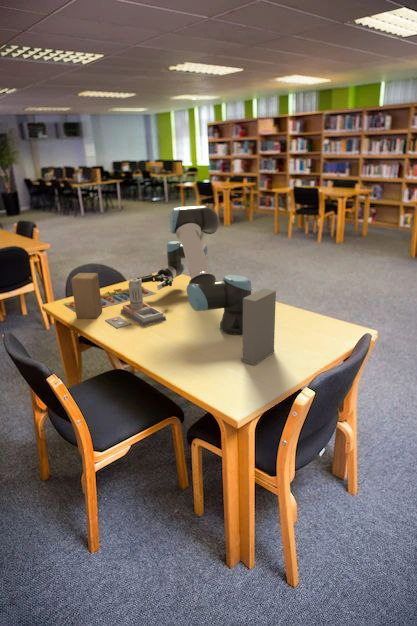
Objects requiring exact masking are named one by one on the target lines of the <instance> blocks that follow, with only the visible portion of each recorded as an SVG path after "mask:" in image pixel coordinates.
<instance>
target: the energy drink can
mask: <svg viewBox="0 0 417 626" xmlns="http://www.w3.org/2000/svg"><path fill="white" fill-rule="evenodd" d="M142 287H143V286H142V284H141V282H140V279H137V278H130V279H129V281H128V288H129V295H130V301H129V304H130V305H131V309H132V310H136V309H140V308H143V302H144V299H143V298H144V297H142Z"/></svg>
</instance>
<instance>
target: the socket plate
mask: <svg viewBox="0 0 417 626" xmlns="http://www.w3.org/2000/svg"><path fill="white" fill-rule="evenodd" d="M120 313H121V314H122V315H124V316H126V317H128V318H129V319H131V320H133V321H134V322H135V323H138V324H139V325H141V326H143V327H145V326H147V325H151V324H154V323H159V322H162V321H165V320H167V319H166V318H167V317H166V316H165V315H164V312H162V311H161V310H159V309H157V308H155V307H153V306H151V305H149V304H148V303H146V302H144V301H143V308H140V309H136V310H132V309H131V305H130V303H127V304H122V309H121V308H120Z"/></svg>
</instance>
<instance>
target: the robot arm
mask: <svg viewBox="0 0 417 626" xmlns="http://www.w3.org/2000/svg"><path fill="white" fill-rule="evenodd" d="M217 213H218V212H216V210H214V209H213V208H211V207H210V206H208V205H207V206H206V205H197V206H196V205H194V206H179V207H173V208H172V209H171V211H170V219H169V221H170V222H169V224H170V225H169V227H170V229H169V230H170V234H174V235H175V236H176V238H177V239H178V241H176V240H172V241H168V242H167V243H166V255H167V259H166V260H167V266H165V267H163V268H161V269H160V270H158V272H157V273H156V274H153V273H149V274H146V275H142V276H138V277H136V279H140V282H141V285H142V284H144V283H151V282H152V283H156V282H159V283H157V285H156V287H157V291H160V290H161V289H163V288H166V287H172V286H173V282H174V279H176V278H177V277H180V276H181V275H182V274H183V273H184V272H185V269H186V267H185V265H184V263H183V262H182V259H185V261H186V265H187V268H188V272H189V276H190V279H189V283H188V285H186V295H187V301H188V303H189V305H190V307H191V308H192V309H193V310H194V311H196V312H201V311H203V312H207V311H210V310H212V311H213V310H218V309H223V314H222V317H221V321H220V324H219V325H220V326H219V327H220V328H219V329H220V330H221V331H222V332H223V333H226V334H228V335H234V336H235V335H238V336H239V335H243V298H245V297H247V296H249V295H251V294H252V290H253V288H252V282H251V280H250V279H249V278H248V277H246V276H242V275H238V274H227V275H224V276H223V278H222V279H223V280H217V279H216V276H215V275H214V274H213V273H211V272H210V268H209V265H208V261H207V255H208V246H207V245H208V243H209V241H210V239H211V238H212V236H213V234H215V233H216V232H217V231H218V229H219V227H220V217H219V215H218V214H217ZM179 240H180V241H179Z"/></svg>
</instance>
